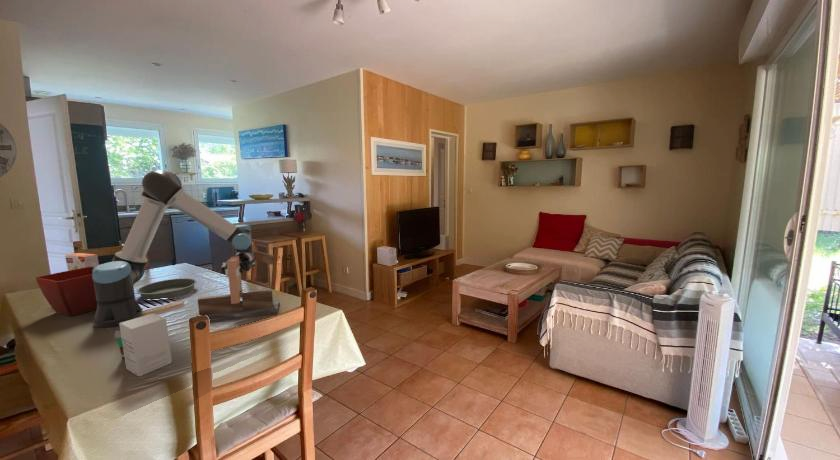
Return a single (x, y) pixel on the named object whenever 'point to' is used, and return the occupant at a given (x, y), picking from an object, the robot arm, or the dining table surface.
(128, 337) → the supplement box
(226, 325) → the dining table surface
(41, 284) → the plant pot
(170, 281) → the cake pan
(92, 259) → the cracker box
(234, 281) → the halving plate
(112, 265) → the robot arm
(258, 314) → the cross board
